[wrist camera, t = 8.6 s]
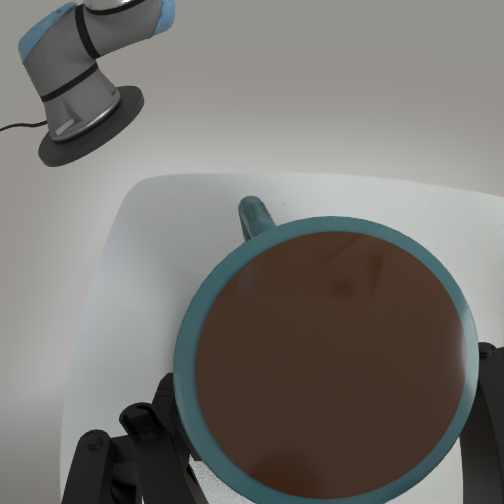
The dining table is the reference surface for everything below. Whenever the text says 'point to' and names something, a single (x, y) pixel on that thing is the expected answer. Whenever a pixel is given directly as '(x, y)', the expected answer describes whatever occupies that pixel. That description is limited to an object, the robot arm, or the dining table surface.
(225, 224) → the dining table surface
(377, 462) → the teal mug
